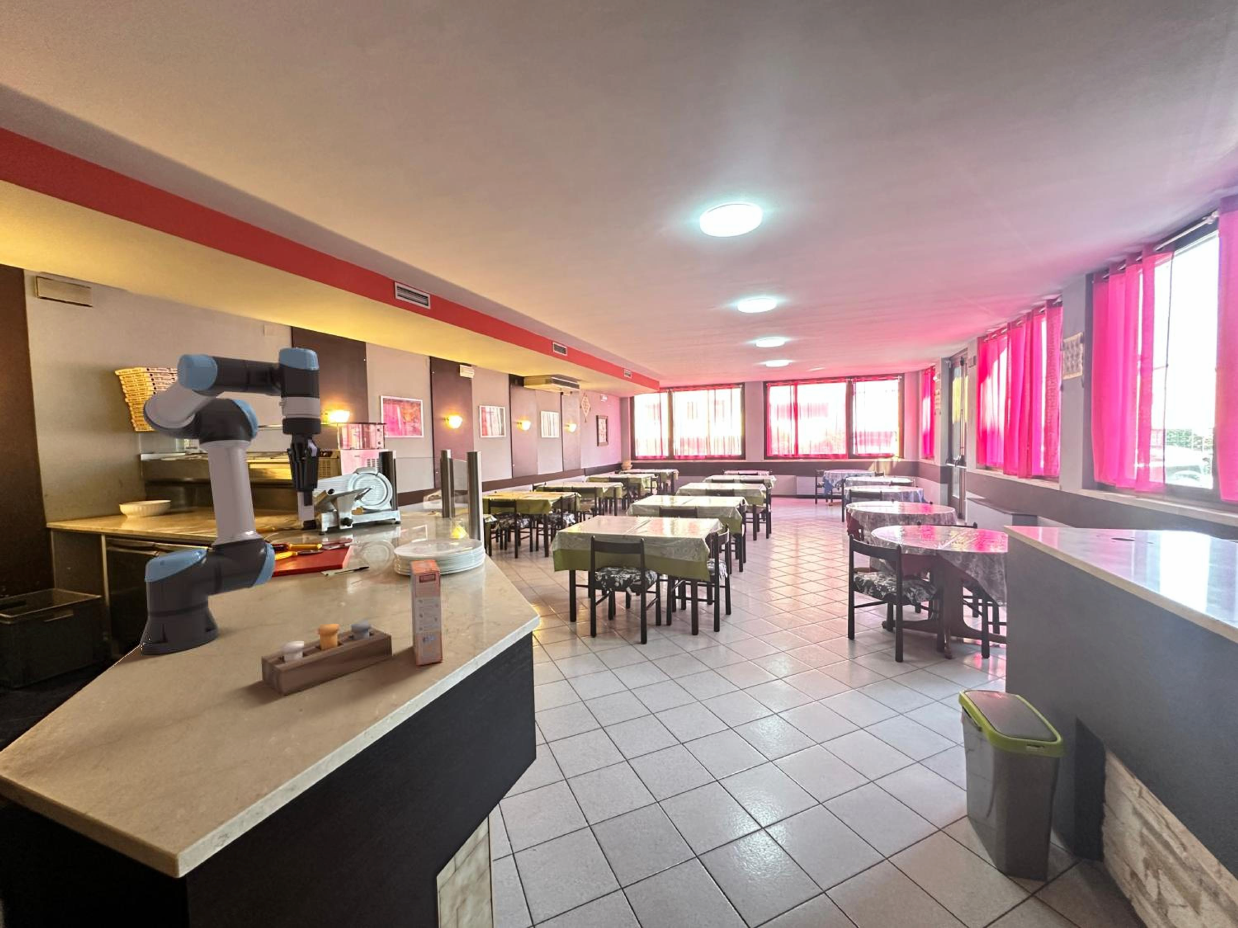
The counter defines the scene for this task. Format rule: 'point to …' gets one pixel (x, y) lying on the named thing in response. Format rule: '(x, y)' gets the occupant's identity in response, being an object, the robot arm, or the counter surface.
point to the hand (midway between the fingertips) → (306, 519)
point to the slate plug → (361, 630)
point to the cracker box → (426, 611)
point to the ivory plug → (292, 650)
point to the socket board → (325, 661)
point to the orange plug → (328, 636)
